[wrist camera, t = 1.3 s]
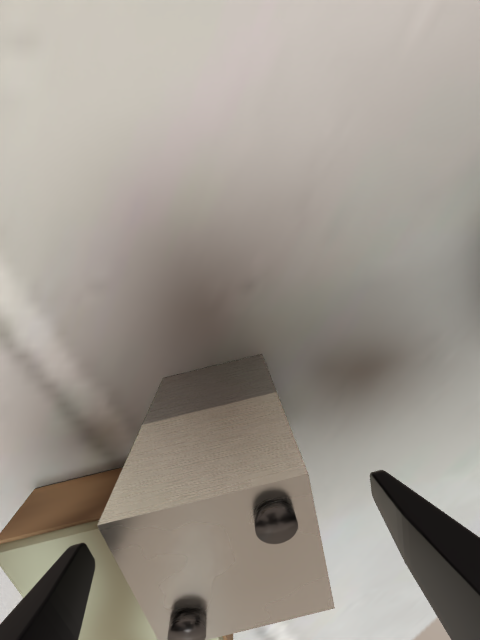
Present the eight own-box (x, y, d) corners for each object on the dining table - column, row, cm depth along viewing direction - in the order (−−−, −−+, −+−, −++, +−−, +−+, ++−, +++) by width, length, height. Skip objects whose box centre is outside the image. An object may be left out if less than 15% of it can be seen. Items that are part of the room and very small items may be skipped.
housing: (261, 353, 13) (312, 485, 6) (280, 435, 14) (339, 622, 7) (163, 377, 13) (90, 539, 6) (191, 457, 14) (161, 667, 7)
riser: (179, 453, 14) (168, 507, 11) (231, 595, 17) (233, 665, 14) (34, 488, 14) (-15, 552, 11) (115, 624, 17) (93, 700, 14)
